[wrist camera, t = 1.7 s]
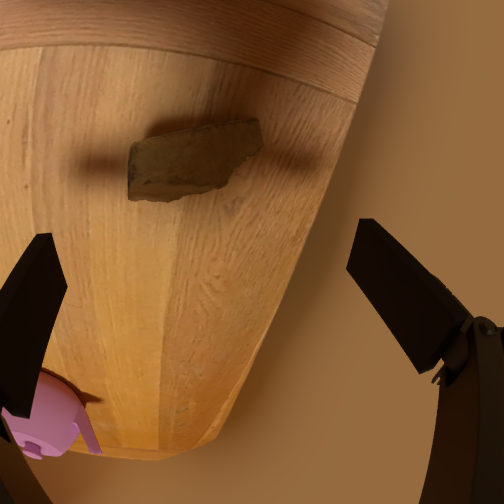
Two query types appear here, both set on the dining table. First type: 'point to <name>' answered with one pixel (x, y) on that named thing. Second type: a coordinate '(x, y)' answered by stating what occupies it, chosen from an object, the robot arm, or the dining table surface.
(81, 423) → the teapot
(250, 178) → the dining table surface
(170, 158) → the rock
